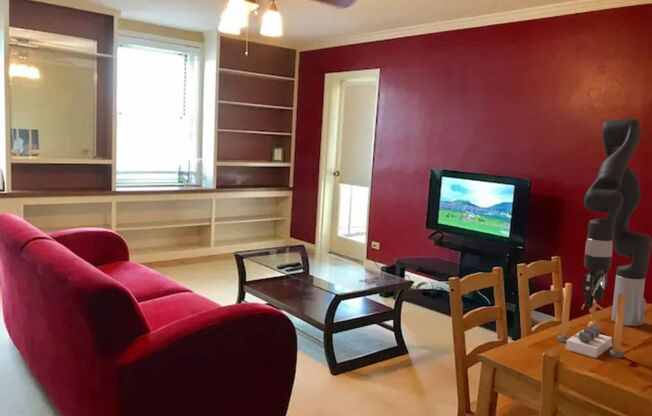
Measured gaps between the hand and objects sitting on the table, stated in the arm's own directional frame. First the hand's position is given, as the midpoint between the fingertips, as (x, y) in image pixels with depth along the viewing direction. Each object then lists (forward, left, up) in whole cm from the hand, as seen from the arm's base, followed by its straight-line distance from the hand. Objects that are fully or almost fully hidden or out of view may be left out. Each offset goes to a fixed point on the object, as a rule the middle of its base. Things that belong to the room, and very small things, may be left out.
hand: (593, 303), depth 172 cm
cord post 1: (+6, -6, -15) cm, 17 cm away
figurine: (-8, -14, -15) cm, 22 cm away
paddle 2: (-3, -3, -11) cm, 12 cm away
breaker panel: (0, 0, -15) cm, 15 cm away
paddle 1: (+3, +3, -11) cm, 12 cm away
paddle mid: (0, 0, -11) cm, 11 cm away
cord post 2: (-5, +6, -15) cm, 17 cm away
